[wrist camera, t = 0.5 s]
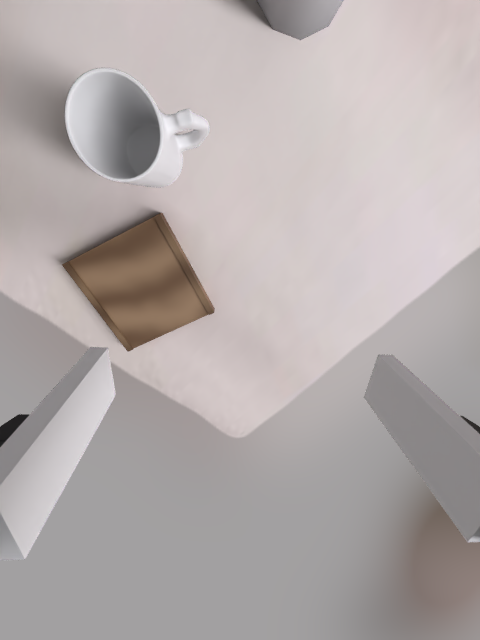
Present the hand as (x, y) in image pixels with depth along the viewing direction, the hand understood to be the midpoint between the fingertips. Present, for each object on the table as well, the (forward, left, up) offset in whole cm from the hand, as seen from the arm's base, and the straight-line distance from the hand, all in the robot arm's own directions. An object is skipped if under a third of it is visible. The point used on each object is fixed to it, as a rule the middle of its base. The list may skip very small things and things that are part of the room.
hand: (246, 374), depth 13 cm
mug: (-15, -1, -25) cm, 29 cm away
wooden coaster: (-3, -12, -24) cm, 27 cm away
